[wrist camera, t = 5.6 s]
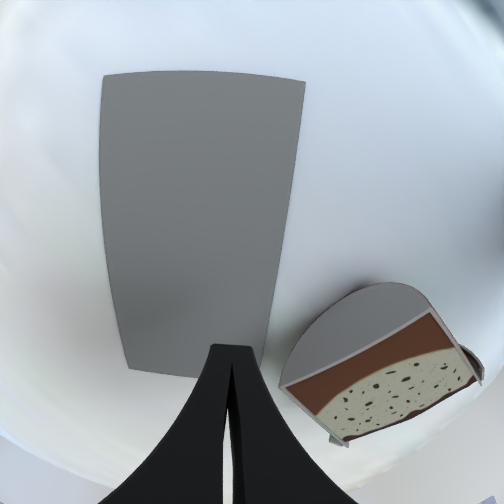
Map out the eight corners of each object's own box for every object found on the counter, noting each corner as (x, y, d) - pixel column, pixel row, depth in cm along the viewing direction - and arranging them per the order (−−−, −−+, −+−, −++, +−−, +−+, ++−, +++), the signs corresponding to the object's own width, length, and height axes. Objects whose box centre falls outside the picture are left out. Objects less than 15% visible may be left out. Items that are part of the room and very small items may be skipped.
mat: (304, 82, 12) (305, 82, 12) (256, 378, 21) (256, 381, 20) (106, 76, 11) (103, 75, 11) (129, 365, 20) (128, 368, 20)
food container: (271, 329, 21) (340, 392, 23) (258, 394, 16) (341, 449, 18) (417, 236, 16) (461, 327, 18) (456, 288, 11) (487, 381, 13)
